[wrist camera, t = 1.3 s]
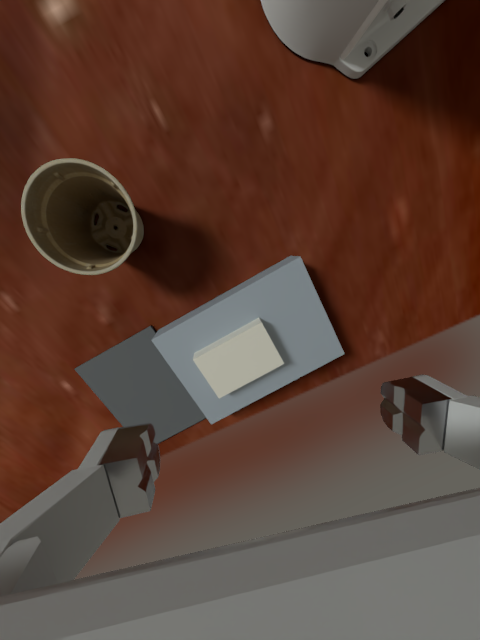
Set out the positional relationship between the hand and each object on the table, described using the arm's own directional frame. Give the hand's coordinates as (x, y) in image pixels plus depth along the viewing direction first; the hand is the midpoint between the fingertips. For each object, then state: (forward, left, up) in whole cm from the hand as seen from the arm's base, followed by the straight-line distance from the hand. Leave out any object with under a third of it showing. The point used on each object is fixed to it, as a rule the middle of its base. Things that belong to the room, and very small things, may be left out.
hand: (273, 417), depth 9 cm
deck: (+1, +6, -26) cm, 26 cm away
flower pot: (+8, -14, -26) cm, 30 cm away
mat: (+17, +6, -26) cm, 32 cm away
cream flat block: (+3, +6, -22) cm, 23 cm away
